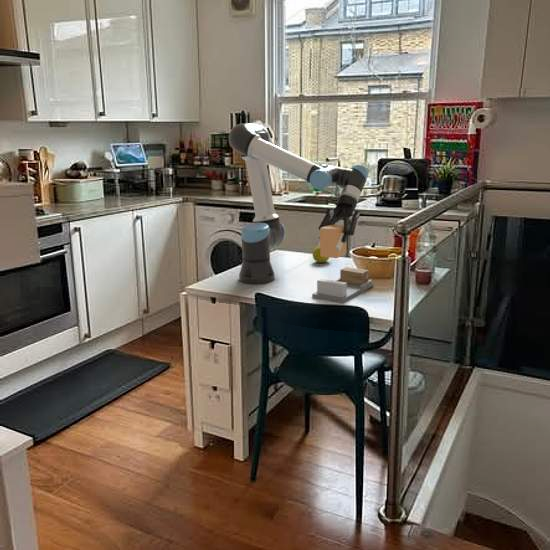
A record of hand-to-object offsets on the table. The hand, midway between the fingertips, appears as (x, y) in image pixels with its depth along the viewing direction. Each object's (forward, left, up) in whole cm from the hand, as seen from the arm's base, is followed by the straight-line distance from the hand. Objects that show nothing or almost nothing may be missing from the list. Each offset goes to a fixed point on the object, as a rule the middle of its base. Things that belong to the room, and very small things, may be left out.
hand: (329, 247), depth 209 cm
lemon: (-47, +14, -18) cm, 52 cm away
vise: (-1, +6, -18) cm, 19 cm away
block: (-2, +3, -4) cm, 5 cm away
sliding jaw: (-6, +13, -17) cm, 22 cm away
